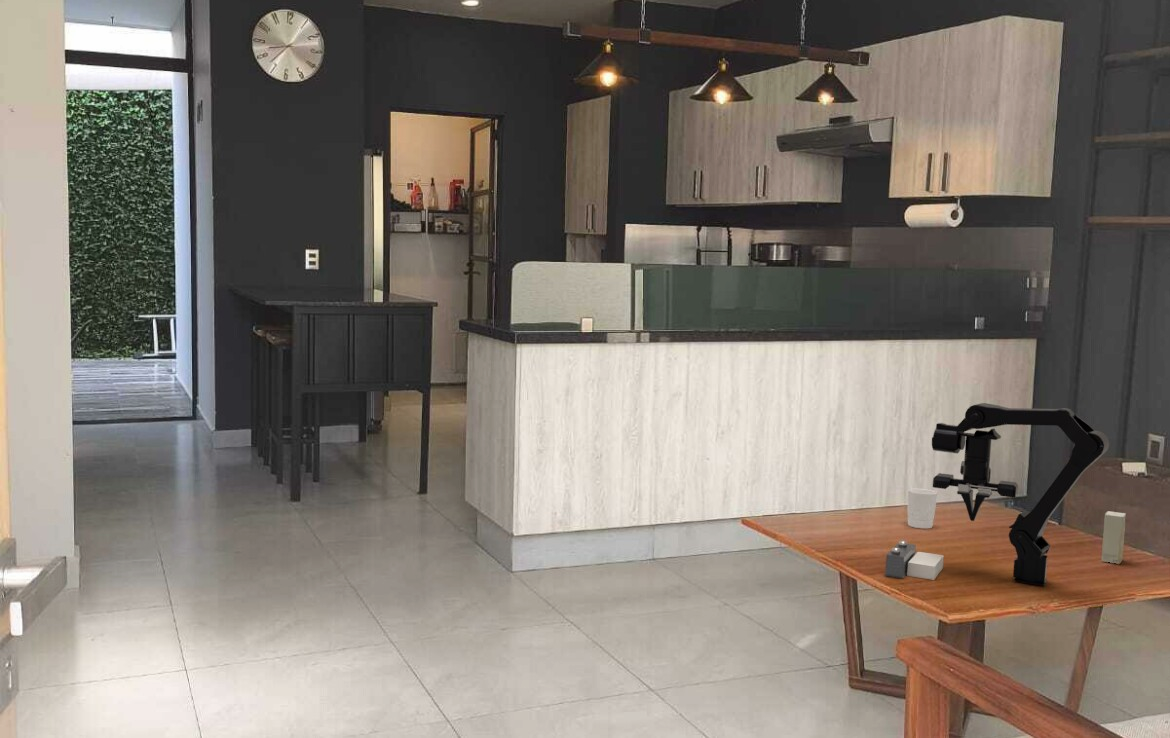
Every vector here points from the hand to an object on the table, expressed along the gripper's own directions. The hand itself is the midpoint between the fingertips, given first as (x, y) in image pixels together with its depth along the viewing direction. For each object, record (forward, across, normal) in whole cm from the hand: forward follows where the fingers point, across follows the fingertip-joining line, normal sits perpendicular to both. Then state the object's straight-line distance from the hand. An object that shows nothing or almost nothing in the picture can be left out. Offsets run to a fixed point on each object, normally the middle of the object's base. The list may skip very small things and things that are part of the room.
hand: (972, 520), depth 261 cm
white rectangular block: (+12, +9, +9) cm, 17 cm away
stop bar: (+12, +14, +11) cm, 21 cm away
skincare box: (+12, -30, -32) cm, 46 cm away
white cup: (+12, +19, -41) cm, 47 cm away
